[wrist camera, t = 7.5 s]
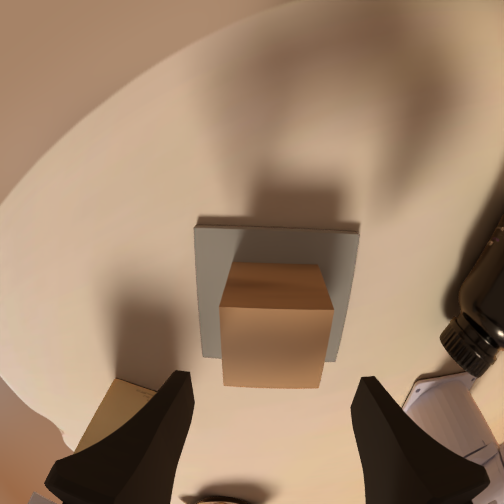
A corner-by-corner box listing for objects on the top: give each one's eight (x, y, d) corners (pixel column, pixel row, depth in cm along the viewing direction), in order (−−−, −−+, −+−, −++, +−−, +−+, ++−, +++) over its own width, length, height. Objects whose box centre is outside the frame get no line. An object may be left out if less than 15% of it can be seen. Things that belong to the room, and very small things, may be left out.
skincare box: (178, 396, 23) (140, 518, 11) (176, 422, 24) (146, 529, 13) (112, 375, 23) (55, 482, 11) (117, 404, 24) (72, 500, 13)
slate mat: (333, 356, 20) (335, 361, 20) (204, 351, 21) (202, 357, 20) (356, 231, 17) (359, 234, 16) (196, 224, 17) (193, 227, 17)
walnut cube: (309, 333, 19) (318, 388, 14) (233, 331, 19) (223, 385, 14) (318, 264, 17) (334, 309, 12) (232, 261, 17) (218, 306, 13)
